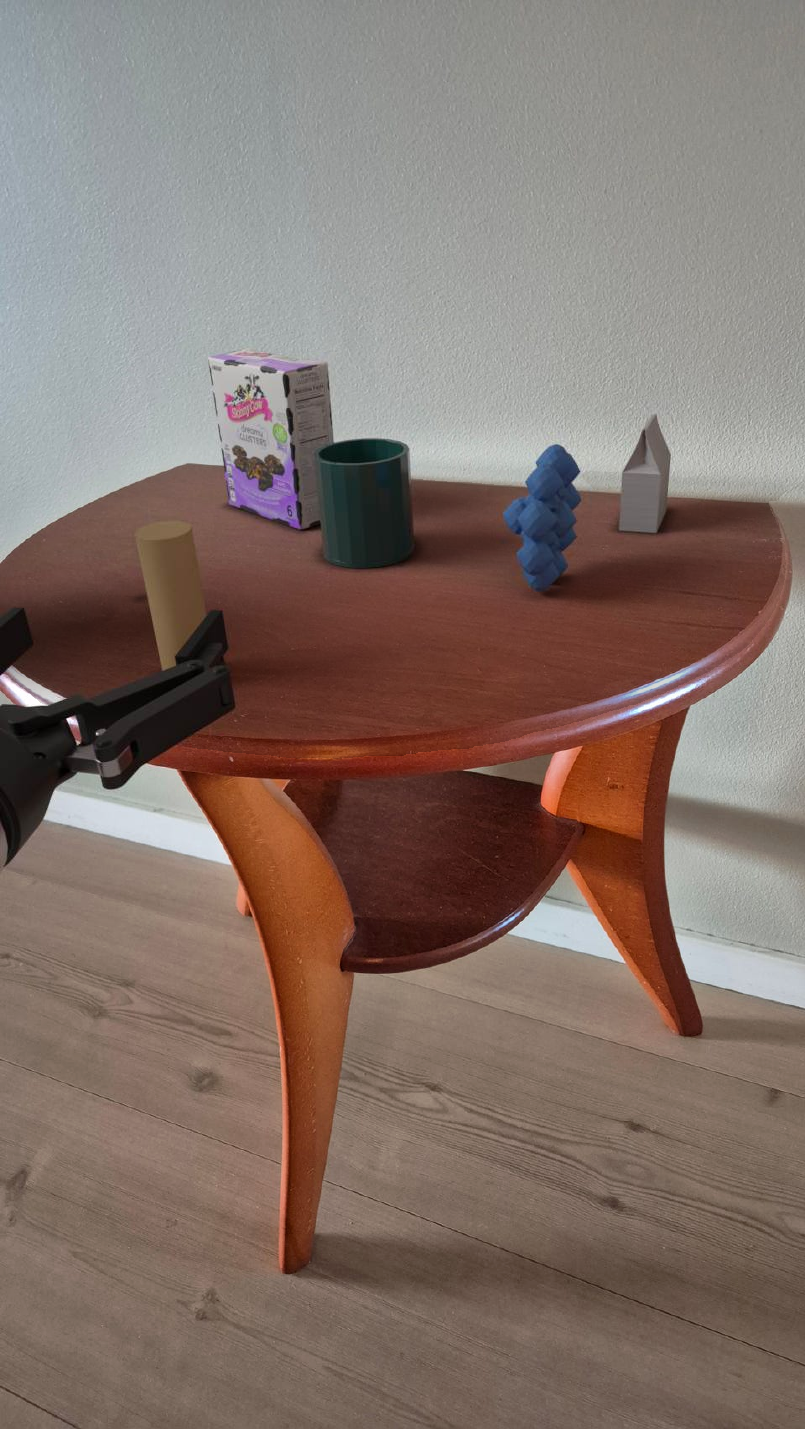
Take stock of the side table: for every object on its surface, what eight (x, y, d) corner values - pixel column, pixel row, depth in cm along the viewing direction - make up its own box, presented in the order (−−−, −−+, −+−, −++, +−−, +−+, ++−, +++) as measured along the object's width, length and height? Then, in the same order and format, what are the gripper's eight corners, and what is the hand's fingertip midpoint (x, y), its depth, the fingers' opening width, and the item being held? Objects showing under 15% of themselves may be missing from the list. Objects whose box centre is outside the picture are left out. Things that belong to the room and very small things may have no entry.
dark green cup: (314, 568, 95) (303, 465, 90) (334, 535, 103) (325, 438, 98) (406, 568, 94) (400, 464, 89) (420, 535, 101) (415, 437, 96)
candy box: (226, 505, 113) (204, 355, 105) (268, 493, 117) (250, 346, 108) (300, 531, 104) (282, 370, 96) (343, 517, 108) (329, 359, 99)
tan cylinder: (156, 689, 75) (126, 539, 69) (175, 664, 79) (147, 520, 73) (206, 690, 75) (180, 539, 69) (223, 666, 78) (199, 520, 72)
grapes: (522, 554, 95) (522, 428, 89) (591, 561, 93) (596, 432, 87) (481, 601, 86) (479, 465, 80) (557, 610, 84) (560, 470, 78)
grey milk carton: (666, 511, 103) (674, 414, 98) (656, 533, 98) (664, 431, 93) (630, 508, 105) (636, 413, 100) (618, 530, 99) (624, 430, 94)
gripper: (-264, 869, 50) (-39, 674, 68) (204, 899, 46) (311, 683, 64) (-326, 743, 46) (-71, 572, 65) (176, 764, 42) (299, 575, 60)
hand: (120, 627), depth 64 cm, fingers open, 13 cm apart
